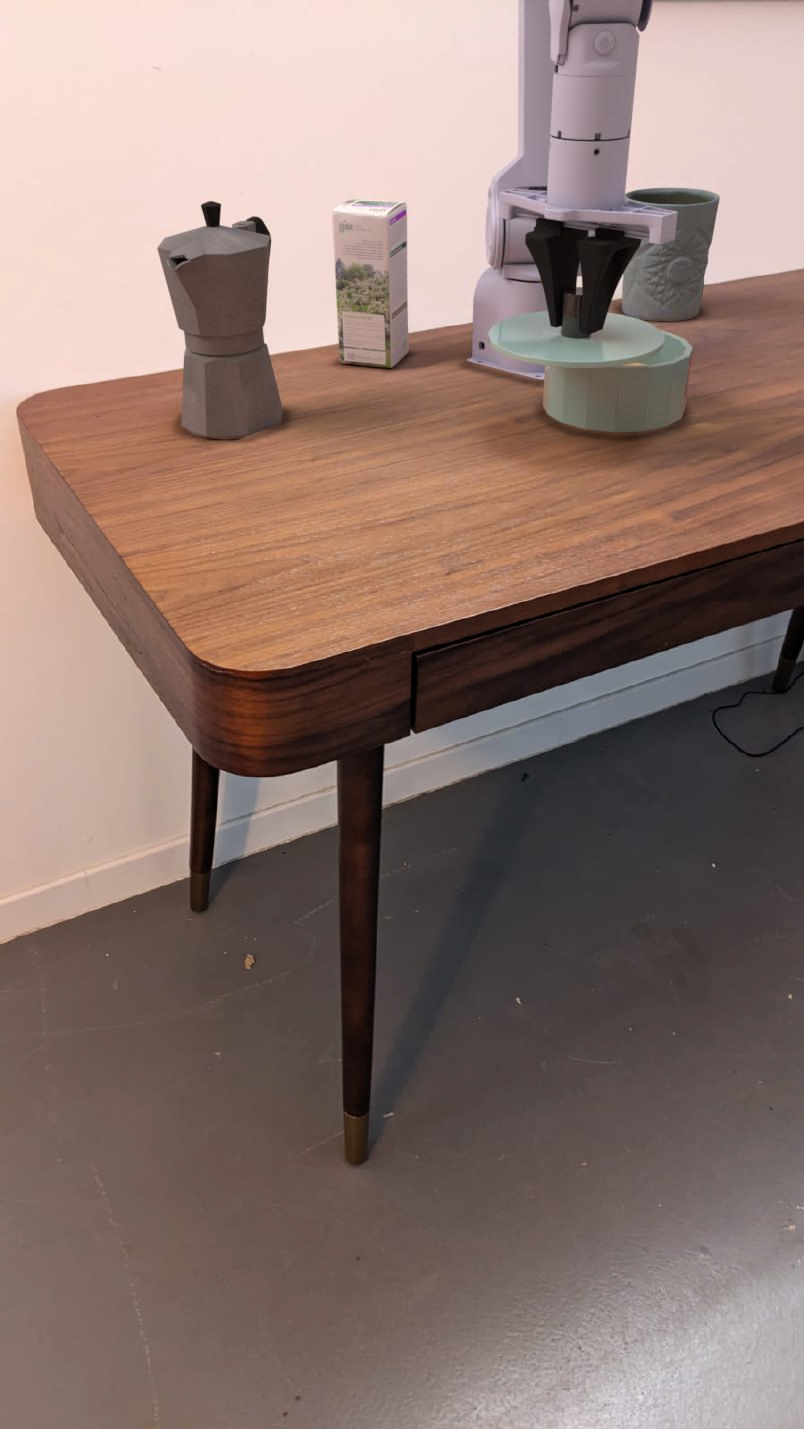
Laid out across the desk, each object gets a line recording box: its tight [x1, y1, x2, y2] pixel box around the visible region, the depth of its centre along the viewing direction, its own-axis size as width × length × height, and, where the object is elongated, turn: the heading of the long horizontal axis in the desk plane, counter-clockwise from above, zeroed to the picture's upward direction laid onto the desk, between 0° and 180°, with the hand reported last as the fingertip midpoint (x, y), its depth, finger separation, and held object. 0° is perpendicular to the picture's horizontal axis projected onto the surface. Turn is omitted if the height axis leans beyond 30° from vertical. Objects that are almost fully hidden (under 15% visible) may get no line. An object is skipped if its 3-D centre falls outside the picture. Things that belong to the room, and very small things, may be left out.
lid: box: [488, 286, 665, 368], centre depth 88 cm, size 14×14×4 cm
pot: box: [542, 330, 694, 433], centre depth 98 cm, size 12×12×6 cm
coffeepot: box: [156, 200, 284, 440], centre depth 95 cm, size 15×9×18 cm, turn 158°
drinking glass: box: [621, 187, 721, 322], centre depth 123 cm, size 10×10×12 cm
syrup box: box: [331, 199, 410, 369], centre depth 109 cm, size 6×6×14 cm
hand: (576, 327), depth 89 cm, fingers closed on lid, 2 cm apart
